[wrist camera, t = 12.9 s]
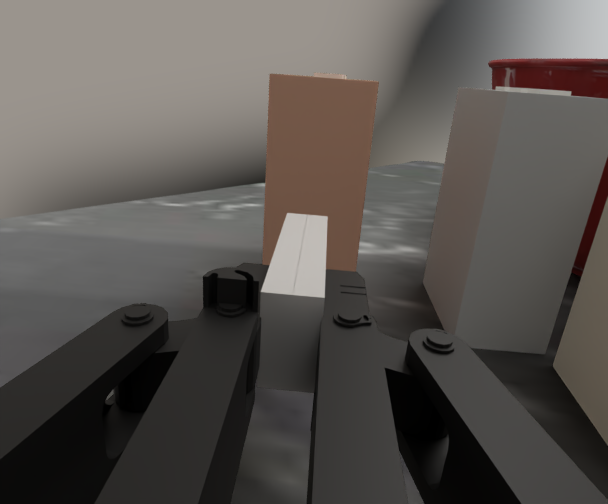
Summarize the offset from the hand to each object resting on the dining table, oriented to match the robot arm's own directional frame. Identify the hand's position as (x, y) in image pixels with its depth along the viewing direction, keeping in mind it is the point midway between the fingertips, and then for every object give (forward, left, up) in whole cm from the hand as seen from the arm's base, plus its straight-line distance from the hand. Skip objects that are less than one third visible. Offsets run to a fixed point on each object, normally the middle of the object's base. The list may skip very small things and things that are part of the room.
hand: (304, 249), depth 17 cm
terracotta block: (-9, -5, -7) cm, 12 cm away
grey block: (-14, +3, -7) cm, 16 cm away
